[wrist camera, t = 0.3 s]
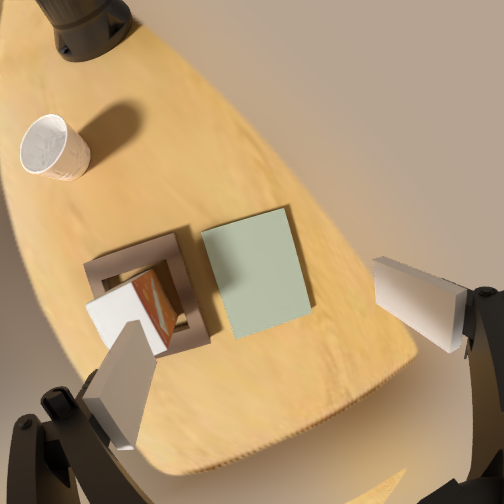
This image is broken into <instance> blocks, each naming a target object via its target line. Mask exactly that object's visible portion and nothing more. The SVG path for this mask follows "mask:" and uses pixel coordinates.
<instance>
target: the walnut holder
mask: <svg viewBox="0 0 504 504" xmlns="http://www.w3.org/2000/svg"><path fill="white" fill-rule="evenodd" d="M165 259H166V261H167V264H168V267H169V270H170V273H171V276H172V279H173V282H174V285H175V288H176V291H177V294H178V297H179V300H180V302H181V305H182V308H183V311H184V314H185V316H186V319H187V322H188V324H185V325H182V326H178V327H175V328H174V330H173V334H172V337H171V340H170V343H169V346H168V350H166V351H163V352H161V353H159V354H157V355H154V357H155V359H156V358H160V357H164V356H168V355H171V354H175V353H179V352H182V351H186V350H189V349H193V348H196V347H200V346H203V345H207V344H210V343H211V341H210V335H209V333H208V330H207V327H206V324H205V322H204V319H203V316H202V313H201V310H200V307H199V305H198V302H197V299H196V296H195V293H194V290H193V287H192V284H191V281H190V278H189V275H188V272H187V269H186V266H185V262H184V259H183V256H182V253H181V250H180V246H179V243H178V240H177V236H176V233H172V234H168V235H165V236H162V237H159V238H156V239H153V240H150V241H147V242H144V243H141V244H138V245H135V246H132V247H129V248H126V249H123V250H120V251H117V252H115V253H112V254H109V255H106V256H103V257H100V258H98V259H95V260H92V261H89V262H86V263H84V264H83V265H84V268H85V272H86V275H87V278H88V281H89V284H90V287H91V290H92V293H93V296H94V299H95V298H97V297H99V296H100V295H102V294H104V293H105V292H107V291H109V290H110V286H109V283H108V280H107V278H110V277H113V276H116V275H119V274H122V273H125V272H128V271H131V270H134V269H137V268H140V267H143V266H146V265H149V264H152V263H156V262H159V261H162V260H165Z"/></svg>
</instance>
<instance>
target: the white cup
mask: <svg viewBox="0 0 504 504" xmlns="http://www.w3.org/2000/svg"><path fill="white" fill-rule="evenodd" d="M20 159H21V163H22V165H23V167H24V168H25V169H26V170H27V171H28V172H30V173H34V174H38V175H42V176H45V177H49V178H54V179H59V180H64V181H74V180H75V179H77V178H79V177H81V176H82V175H83V173H84V172H85V171H86V170H87V168H88V165H89V162H90V159H91V155H90V148H89V147H88V145H87V143H86V142H85V141H84V140H83V139H82V138H81V136H80V135H79V134H78V133H77V132H76V131H75V130H74V129H73V128H72V127H71V126H70V125H69V124H68V123H67V122H66V121H65V120H64V119H63V118H62V117H60V116H59V115H56V114H48V115H45V116H42V117H41V118H39V119H38V120H36V121H35V122H34V123H33V124H32V125H31V126H30V127H29V129H28V130H27V132H26V133H25V135H24V138H23V140H22V143H21V148H20Z"/></svg>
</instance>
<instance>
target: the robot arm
mask: <svg viewBox="0 0 504 504" xmlns="http://www.w3.org/2000/svg"><path fill="white" fill-rule="evenodd" d="M36 2H37V3H38V5H39V6H40V8H41V9H42V11H43V12H44V14H45V15H46V17H47V18H48V20H49V21H50V23H51V24H52V26H53V27H54V36H55V45H56V49H57V51H58V52H59V54H60V55H61V56H62V58H63V59H65V60H67V61H69V62H83V61H87V60H90V59H93V58H96V57H98V56H100V55H102V54H104V53H106V52H107V51H109V50H110V49H112V48H113V47H114V46H116V45H117V44H118V43H119V42H120V41H121V40H122V39H123V38H124V37H125V36H126V34H127V33H128V31H129V30H130V28H131V25H132V15H131V12H130V9H129V7H128V6H127V5H126V4H125V3H124V2H123V1H122V0H36ZM373 268H374V280H375V294H376V304H378V305H379V306H381V307H382V308H384V309H385V310H387V311H388V312H390V313H391V314H393V315H394V316H396V317H397V318H399V319H400V320H402V321H403V322H404V323H406V324H407V325H409V326H410V327H412V328H413V329H415V330H416V331H418V332H419V333H421V334H422V335H424V336H425V337H426V338H428V339H429V340H431V341H432V342H434V343H435V344H436V345H438V346H439V347H441V348H442V349H444V350H445V351H446V352H448V353H451V352H453V351H454V350H456V349H457V348H459V347H460V346H461V341H462V334H463V335H465V336H467V337H468V340H467V346H466V351H465V356H464V359H466V357H467V355H468V358H469V366H470V375H471V386H472V404H473V446H472V461H471V469H470V472H469V475H468V477H467V480H466V481H465V482H462V483H459V484H458V483H457V481H456V480H455V479H454V478H453V479H452V480H450V481H449V482H448V483H446V484H445V485H443V486H442V487H440V488H439V489H437V490H436V491H434V492H433V493H431V494H430V495H428V496H427V497H425V498H423V499H421V500H420V501H419V502H418V503H417V504H504V291H500V292H498V291H497V290H496V289H495V288H492V287H479V288H476V289H475V290H474V291H472V290H470V289H468V288H465V287H463V286H460V285H456V284H455V283H453V282H450V281H448V280H445V279H443V278H439V277H436V276H434V275H431V274H429V273H426V272H423V271H421V270H418V269H415V268H413V267H411V266H408V265H405V264H402V263H400V262H397V261H395V260H392V259H389V258H387V257H384V256H383V257H379V258H376V259H373ZM156 364H157V362H156V359H155V357H154V355H153V352H152V350H151V347H150V345H149V343H148V340H147V338H146V335H145V333H144V330H143V327H142V325H141V322H140V319H139V320H134V321H129V322H127V323H126V324H125V326H124V327H123V329H122V331H121V332H120V334H119V336H118V337H117V339H116V340H115V342H114V344H113V345H112V347H111V349H110V350H109V352H108V354H107V355H106V357H105V359H104V360H103V362H102V364H101V366H100V367H99V369H96V370H95V371H93V372H92V373H91V374H90V375H89V376H88V378H87V380H86V381H85V384H84V385H83V386H82V389H81V390H80V392H79V393H78V395H77V397H76V399H74V398H73V396H72V394H71V393H70V391H69V389H68V388H66V387H63V386H61V387H56V388H53V389H51V390H49V391H48V392H46V393H45V394H44V395H43V397H42V398H41V405H42V406H43V408H44V409H45V411H46V412H47V414H48V415H49V416H50V418H51V420H52V421H48V422H43V423H41V422H40V420H39V419H38V418H37V416H36V415H34V414H27V415H23V416H21V418H19V419H18V420H17V421H16V423H15V425H14V428H13V434H12V440H11V447H10V455H9V464H8V476H7V504H80V499H79V495H78V490H77V484H76V479H75V476H76V478H77V480H78V482H79V484H80V486H81V488H82V490H83V492H84V493H85V495H86V497H87V499H88V501H89V502H90V504H154V503H153V502H152V501H151V500H150V499H149V498H148V496H147V495H146V494H145V493H144V492H143V491H142V490H141V489H140V487H139V486H138V485H137V484H136V483H135V481H134V480H133V479H132V478H131V477H130V475H129V474H128V473H127V472H126V470H125V469H124V468H123V466H122V465H121V464H120V463H119V461H118V460H117V458H116V457H115V456H114V454H113V453H112V452H111V450H110V449H109V448H108V446H109V443H110V440H111V442H112V443H113V444H114V446H115V447H116V448H117V449H118V450H134V449H135V445H136V440H137V436H138V432H139V428H140V424H141V420H142V416H143V412H144V408H145V404H146V400H147V396H148V392H149V389H150V385H151V381H152V378H153V374H154V371H155V367H156Z"/></svg>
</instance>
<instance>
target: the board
mask: <svg viewBox="0 0 504 504" xmlns="http://www.w3.org/2000/svg"><path fill="white" fill-rule="evenodd" d="M201 234H202V237H203V241H204V244H205V247H206V250H207V254H208V257H209V260H210V263H211V266H212V270H213V273H214V276H215V279H216V282H217V285H218V288H219V291H220V295H221V298H222V301H223V304H224V307H225V310H226V313H227V316H228V319H229V322H230V324H231V327H232V330H233V333H234V336H235V339H239V338H242V337H245V336H248V335H251V334H254V333H257V332H260V331H263V330H266V329H269V328H271V327H274V326H277V325H280V324H283V323H285V322H288V321H291V320H294V319H296V318H299V317H302V316H304V315H307V314H310V313H312V310H311V306H310V302H309V298H308V294H307V290H306V286H305V283H304V279H303V275H302V271H301V267H300V264H299V260H298V256H297V252H296V249H295V245H294V241H293V238H292V234H291V231H290V227H289V224H288V220H287V217H286V213H285V210H284V208H282V209H278V210H275V211H271V212H268V213H264V214H261V215H257V216H254V217H250V218H247V219H243V220H240V221H237V222H233V223H230V224H227V225H223V226H220V227H217V228H213V229H210V230H207V231H204V232H201Z"/></svg>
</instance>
